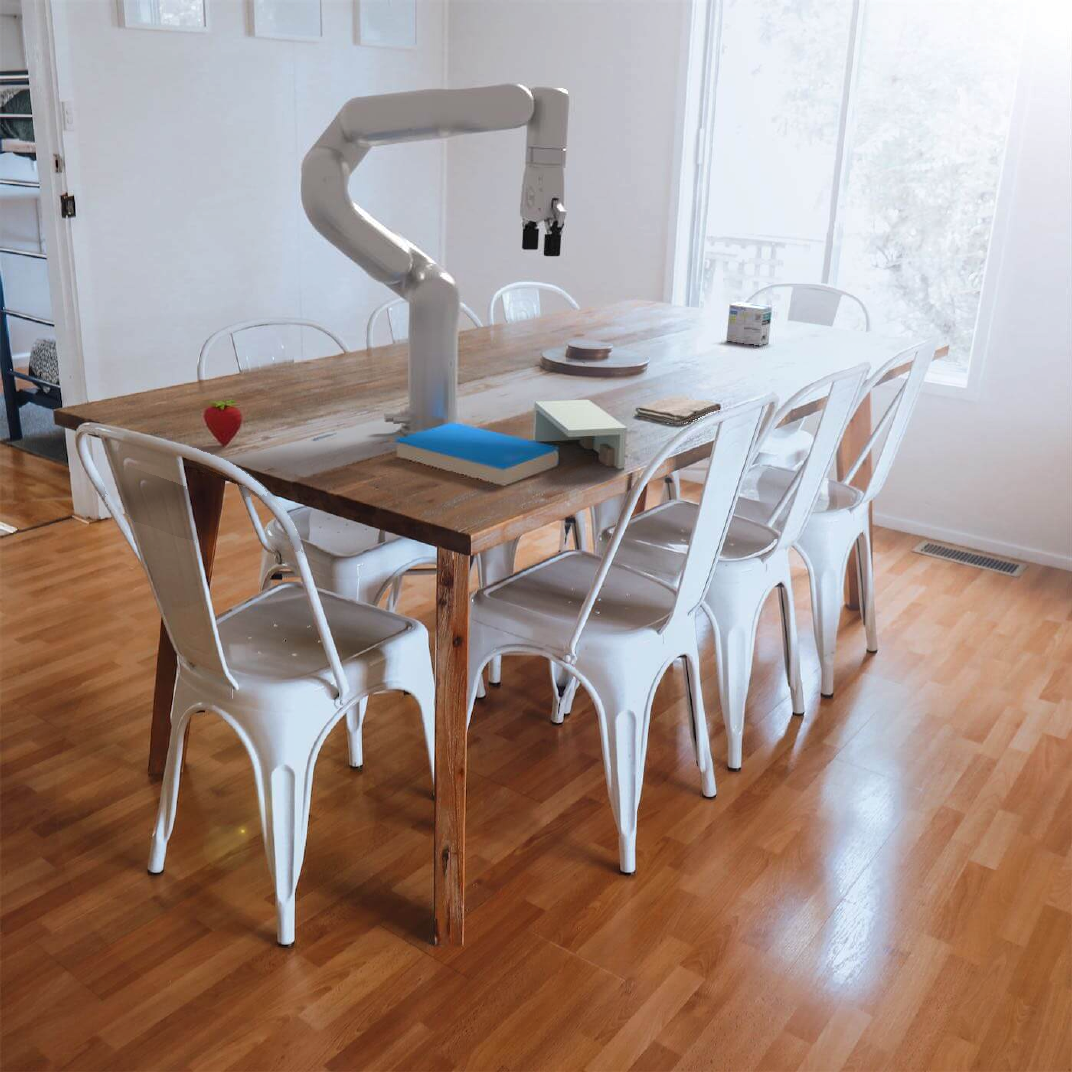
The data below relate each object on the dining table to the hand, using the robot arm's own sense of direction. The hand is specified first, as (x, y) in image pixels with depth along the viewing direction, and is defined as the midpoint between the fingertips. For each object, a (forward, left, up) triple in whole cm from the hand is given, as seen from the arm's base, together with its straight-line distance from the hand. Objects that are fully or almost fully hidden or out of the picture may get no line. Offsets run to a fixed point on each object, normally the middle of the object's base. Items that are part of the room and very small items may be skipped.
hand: (540, 252), depth 216 cm
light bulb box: (+89, +80, -35) cm, 124 cm away
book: (-17, -19, -36) cm, 44 cm away
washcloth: (+35, +7, -36) cm, 50 cm away
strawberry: (-60, -1, -35) cm, 70 cm away
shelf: (+3, -18, -35) cm, 40 cm away
